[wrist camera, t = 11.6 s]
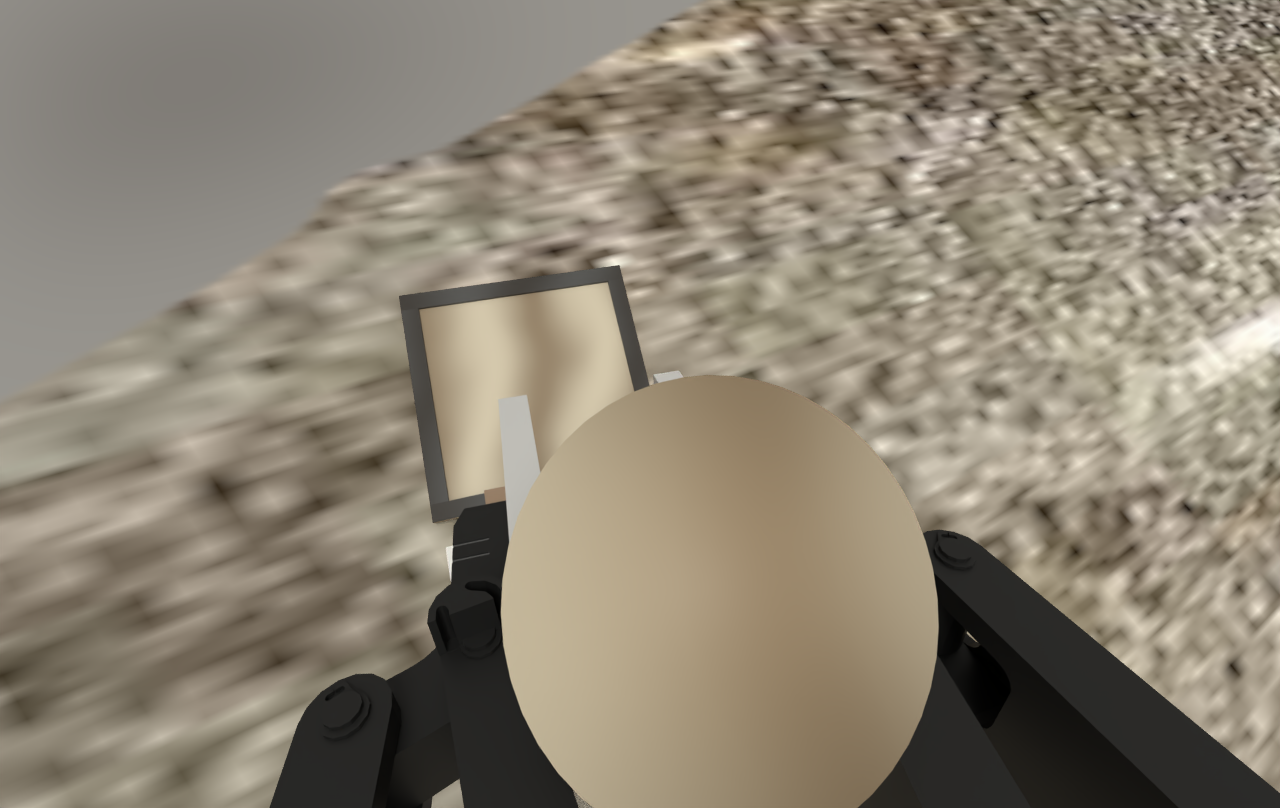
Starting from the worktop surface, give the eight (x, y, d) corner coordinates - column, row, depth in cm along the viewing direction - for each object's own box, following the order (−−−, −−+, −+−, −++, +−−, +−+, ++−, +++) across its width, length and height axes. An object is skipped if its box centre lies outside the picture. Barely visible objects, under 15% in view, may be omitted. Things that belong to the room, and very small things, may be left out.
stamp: (520, 677, 18) (420, 1072, 4) (494, 500, 19) (355, 374, 6) (715, 625, 19) (1105, 801, 6) (678, 464, 21) (921, 294, 7)
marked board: (435, 523, 31) (432, 522, 30) (402, 301, 34) (398, 295, 33) (667, 471, 34) (670, 469, 33) (618, 271, 37) (619, 265, 36)
